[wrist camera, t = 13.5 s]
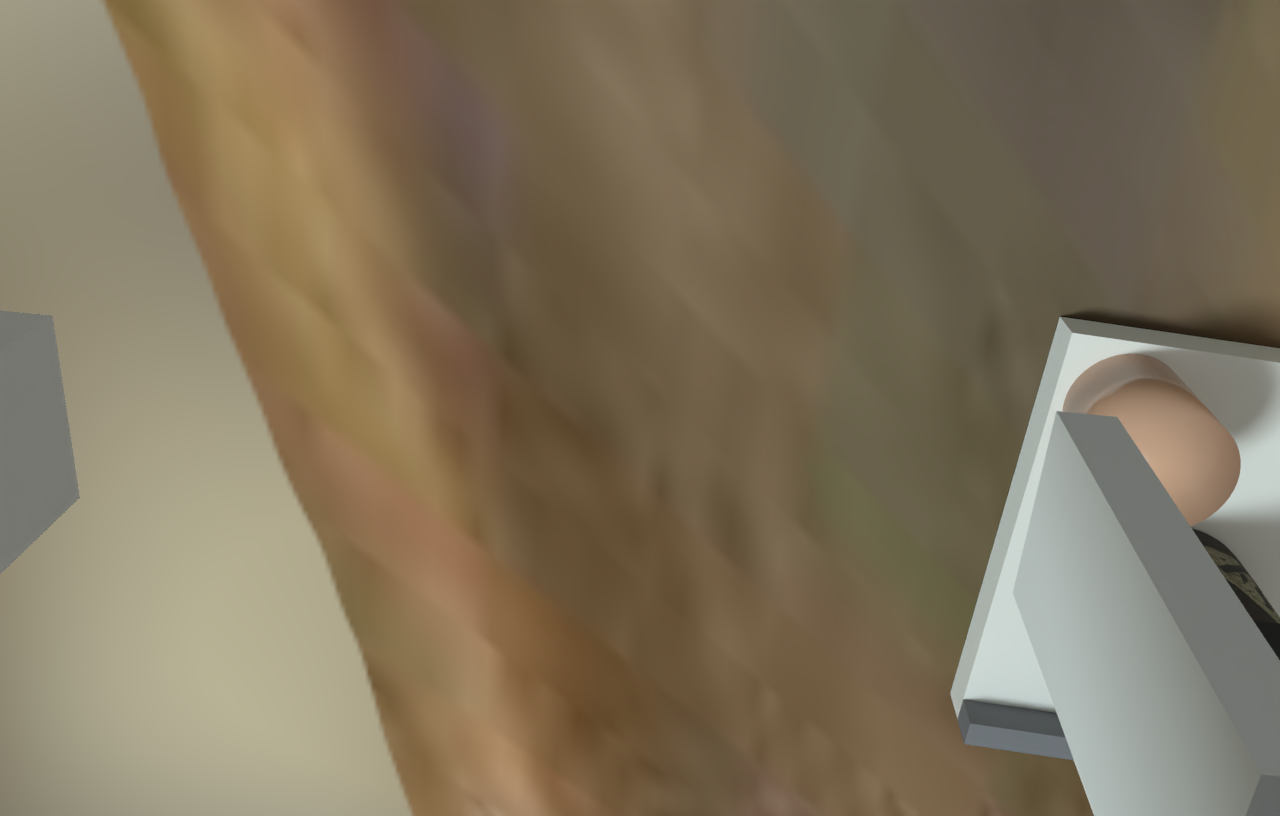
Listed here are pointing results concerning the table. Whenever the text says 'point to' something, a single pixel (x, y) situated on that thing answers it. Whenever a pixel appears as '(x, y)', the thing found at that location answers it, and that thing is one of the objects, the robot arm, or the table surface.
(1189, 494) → the peach rounded cylinder
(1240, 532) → the thin white panel
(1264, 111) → the table surface
